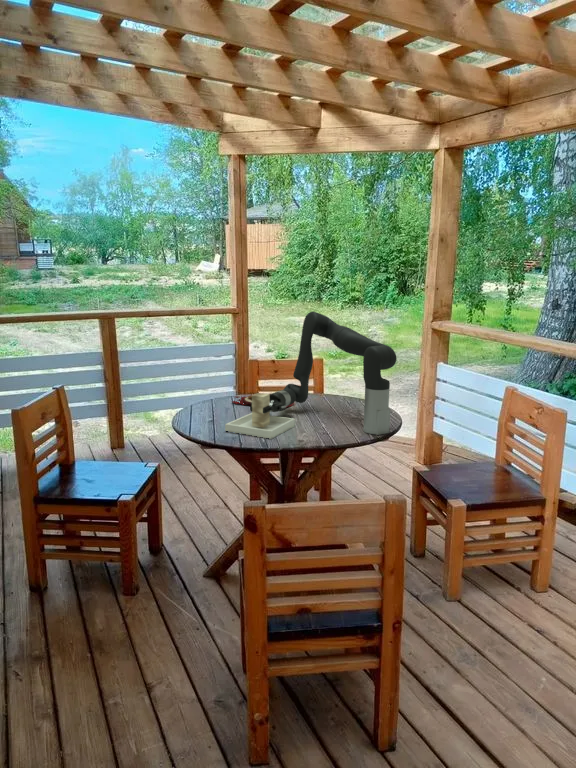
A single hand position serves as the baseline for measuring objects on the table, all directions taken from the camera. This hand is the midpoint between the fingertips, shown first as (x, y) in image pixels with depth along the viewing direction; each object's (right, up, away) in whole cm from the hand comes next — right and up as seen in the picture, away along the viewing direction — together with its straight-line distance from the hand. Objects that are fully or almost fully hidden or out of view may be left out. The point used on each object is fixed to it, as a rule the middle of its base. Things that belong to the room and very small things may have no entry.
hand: (257, 409), depth 211 cm
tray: (+1, -8, +4) cm, 9 cm away
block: (+1, -6, +4) cm, 7 cm away
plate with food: (+3, +1, +49) cm, 49 cm away
